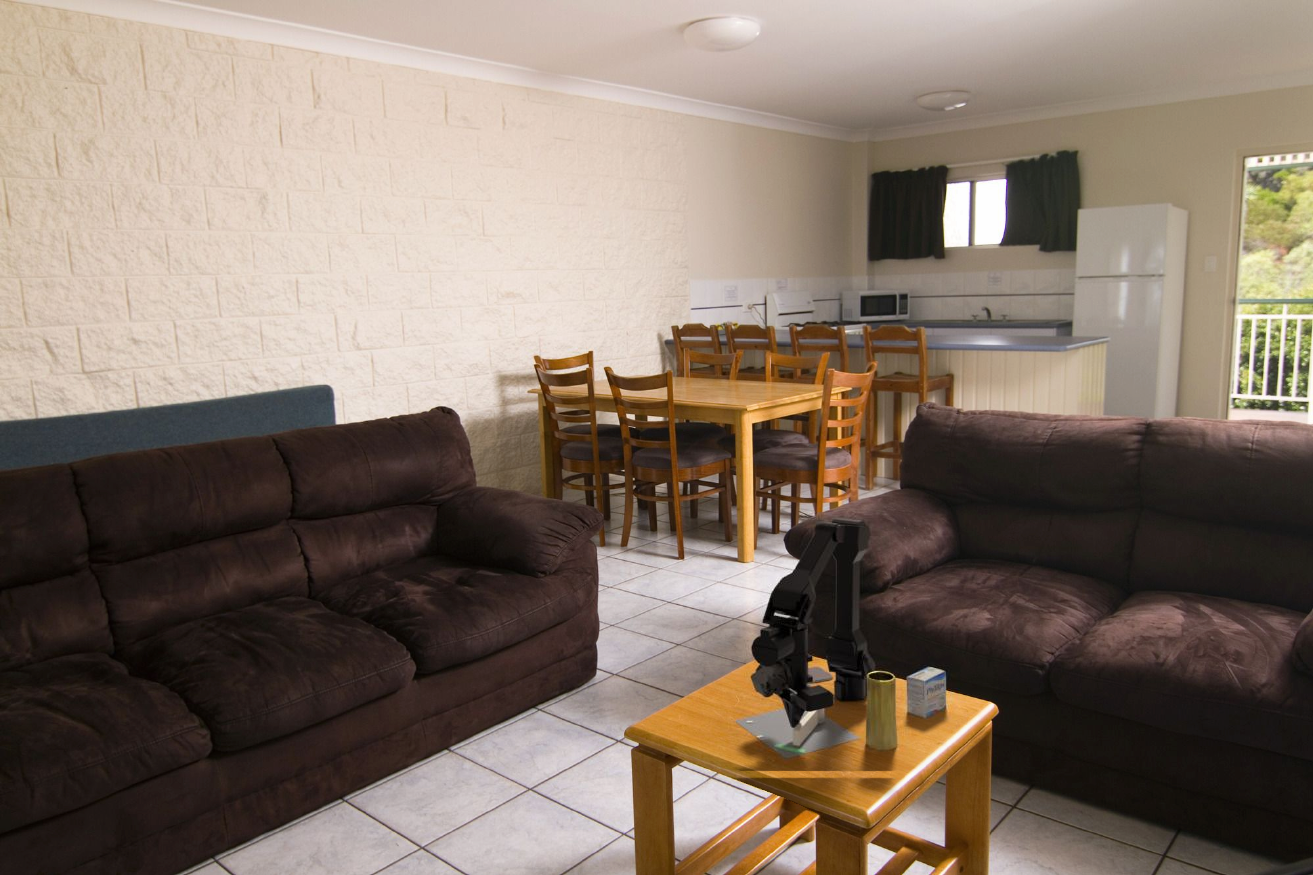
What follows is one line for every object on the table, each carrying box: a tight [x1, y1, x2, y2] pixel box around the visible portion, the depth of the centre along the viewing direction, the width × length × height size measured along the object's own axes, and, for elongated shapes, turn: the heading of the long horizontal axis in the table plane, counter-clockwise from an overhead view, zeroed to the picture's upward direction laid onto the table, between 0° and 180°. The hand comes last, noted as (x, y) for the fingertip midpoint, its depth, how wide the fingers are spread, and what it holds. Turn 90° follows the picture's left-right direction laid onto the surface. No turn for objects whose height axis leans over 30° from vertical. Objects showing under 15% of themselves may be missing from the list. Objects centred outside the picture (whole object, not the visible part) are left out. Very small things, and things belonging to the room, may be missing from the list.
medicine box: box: [906, 666, 947, 719], centre depth 188 cm, size 8×4×9 cm, turn 131°
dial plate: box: [734, 707, 861, 760], centre depth 181 cm, size 17×19×1 cm
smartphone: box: [807, 666, 834, 685], centre depth 209 cm, size 7×1×15 cm
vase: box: [865, 670, 899, 751], centre depth 173 cm, size 6×6×14 cm
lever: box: [793, 708, 826, 746], centre depth 179 cm, size 14×3×3 cm, turn 151°
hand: (794, 727), depth 177 cm, fingers closed
